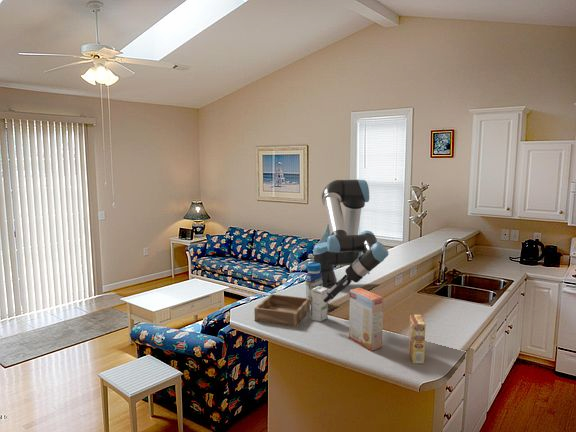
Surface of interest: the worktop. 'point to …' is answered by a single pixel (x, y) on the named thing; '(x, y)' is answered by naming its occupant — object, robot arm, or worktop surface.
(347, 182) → the robot arm
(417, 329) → the candy box
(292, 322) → the crate
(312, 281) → the beverage bottle
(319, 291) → the syrup box
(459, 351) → the worktop surface
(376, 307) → the cracker box
